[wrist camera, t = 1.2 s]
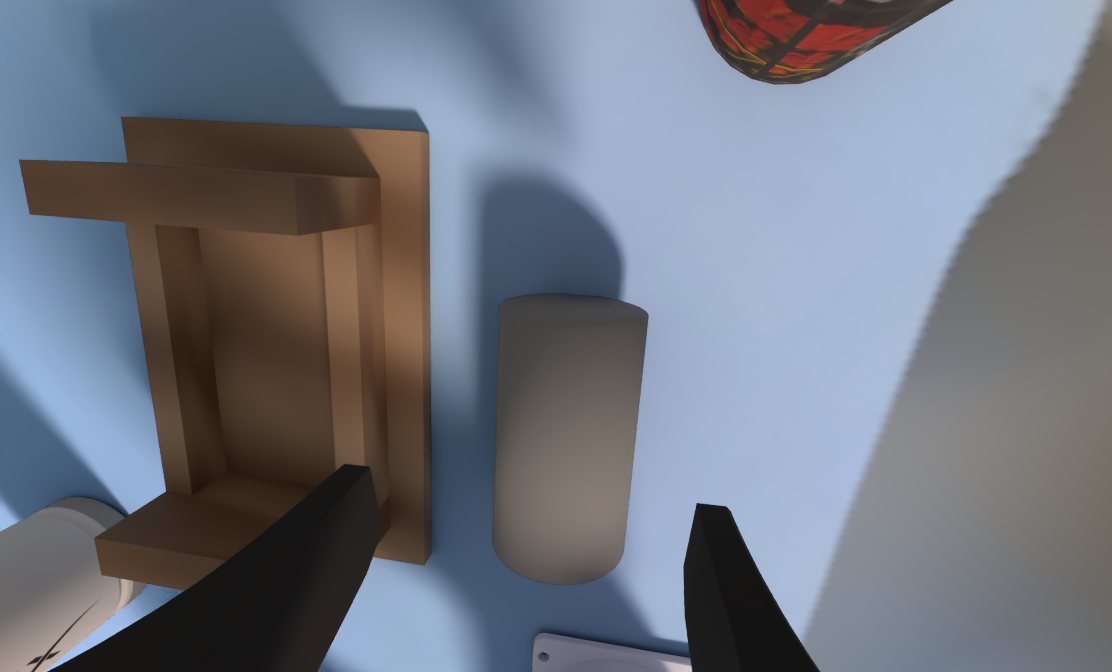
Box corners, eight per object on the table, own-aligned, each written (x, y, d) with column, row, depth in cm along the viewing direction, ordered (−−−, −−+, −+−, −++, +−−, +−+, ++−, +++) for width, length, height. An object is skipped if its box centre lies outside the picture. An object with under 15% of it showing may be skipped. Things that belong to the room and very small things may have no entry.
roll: (626, 511, 24) (620, 595, 19) (509, 494, 24) (475, 571, 19) (648, 300, 21) (648, 336, 16) (517, 289, 22) (480, 320, 17)
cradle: (431, 553, 26) (367, 661, 20) (194, 515, 27) (72, 605, 22) (429, 133, 21) (343, 115, 15) (139, 118, 22) (-38, 97, 17)
